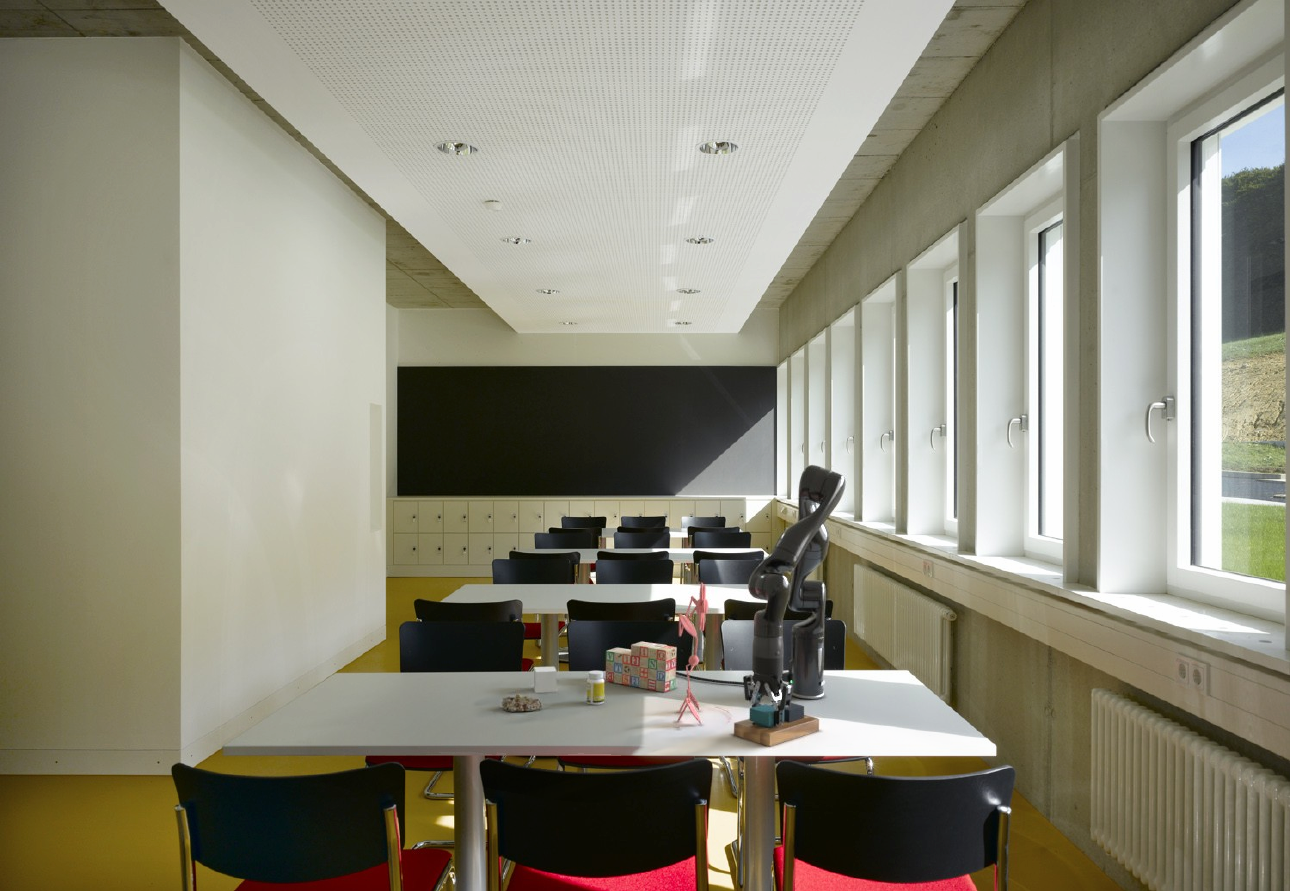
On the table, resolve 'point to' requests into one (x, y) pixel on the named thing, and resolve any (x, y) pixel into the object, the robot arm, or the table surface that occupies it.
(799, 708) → the dark grey cube
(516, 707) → the mineral rock
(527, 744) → the table surface
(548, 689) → the white cube
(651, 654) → the stack of blocks
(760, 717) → the teal stepped block
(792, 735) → the block
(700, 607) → the figurine
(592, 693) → the supplement bottle
